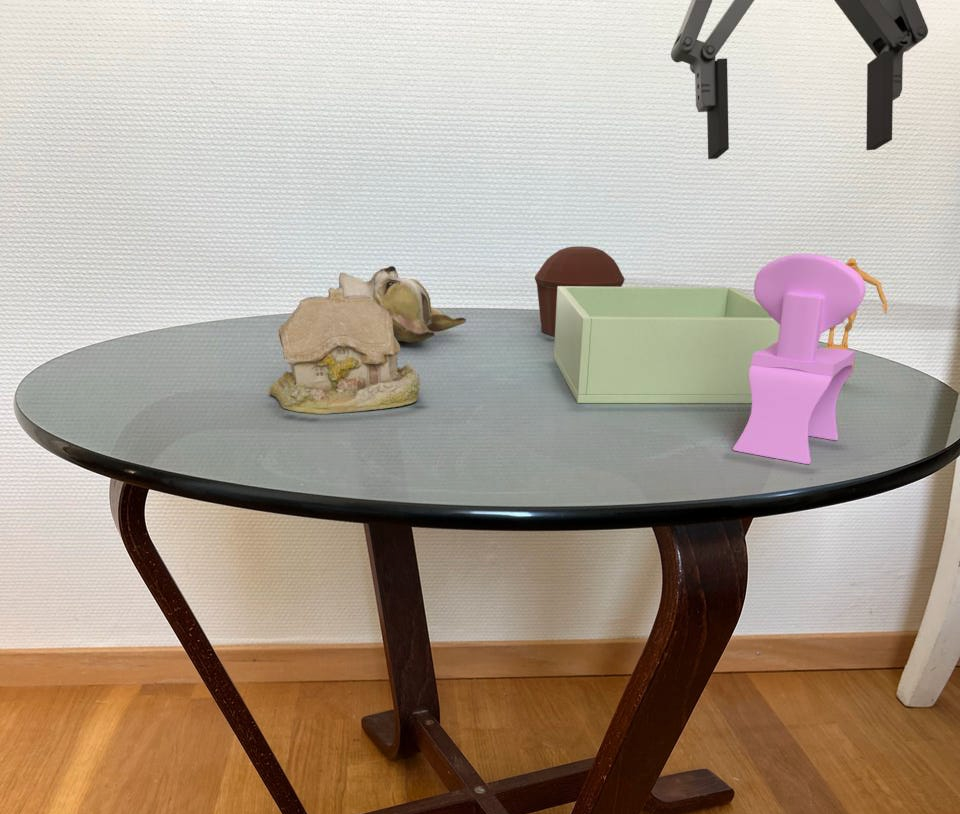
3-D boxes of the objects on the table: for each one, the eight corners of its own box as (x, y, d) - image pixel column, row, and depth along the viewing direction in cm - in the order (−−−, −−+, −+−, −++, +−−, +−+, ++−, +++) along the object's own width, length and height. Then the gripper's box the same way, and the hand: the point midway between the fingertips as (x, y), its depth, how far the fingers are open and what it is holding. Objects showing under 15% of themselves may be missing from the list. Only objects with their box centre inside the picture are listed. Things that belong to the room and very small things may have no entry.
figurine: (788, 385, 97) (809, 260, 91) (788, 372, 102) (808, 254, 96) (873, 392, 95) (901, 264, 89) (869, 378, 100) (895, 257, 94)
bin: (724, 359, 107) (733, 287, 104) (780, 403, 90) (794, 319, 86) (553, 358, 106) (557, 286, 103) (577, 403, 89) (582, 317, 85)
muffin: (597, 344, 114) (603, 256, 109) (516, 334, 119) (519, 249, 114) (633, 329, 123) (641, 246, 118) (557, 320, 128) (561, 241, 123)
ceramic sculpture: (361, 253, 117) (471, 269, 112) (361, 325, 121) (467, 343, 117) (316, 264, 108) (433, 281, 104) (317, 340, 113) (430, 360, 108)
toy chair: (851, 440, 80) (891, 250, 72) (822, 467, 73) (862, 261, 66) (756, 424, 84) (785, 242, 76) (720, 448, 77) (748, 251, 70)
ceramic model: (269, 416, 84) (257, 298, 79) (269, 386, 93) (259, 279, 88) (425, 410, 86) (423, 295, 81) (409, 381, 96) (407, 277, 91)
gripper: (925, -128, 77) (919, 154, 81) (626, -118, 74) (637, 171, 79) (982, -187, 69) (972, 126, 74) (653, -179, 67) (663, 143, 72)
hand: (799, 150), depth 76 cm, fingers open, 13 cm apart
